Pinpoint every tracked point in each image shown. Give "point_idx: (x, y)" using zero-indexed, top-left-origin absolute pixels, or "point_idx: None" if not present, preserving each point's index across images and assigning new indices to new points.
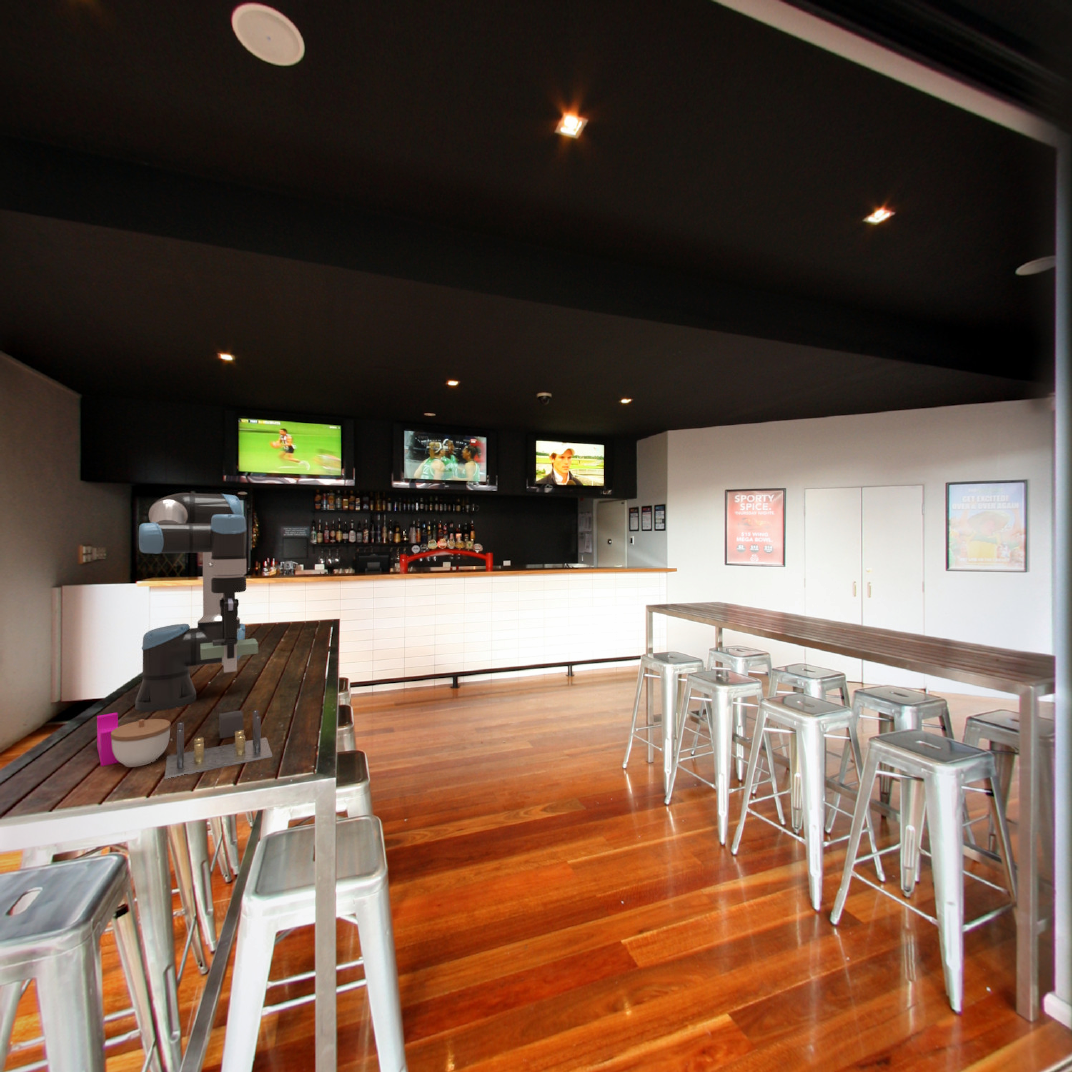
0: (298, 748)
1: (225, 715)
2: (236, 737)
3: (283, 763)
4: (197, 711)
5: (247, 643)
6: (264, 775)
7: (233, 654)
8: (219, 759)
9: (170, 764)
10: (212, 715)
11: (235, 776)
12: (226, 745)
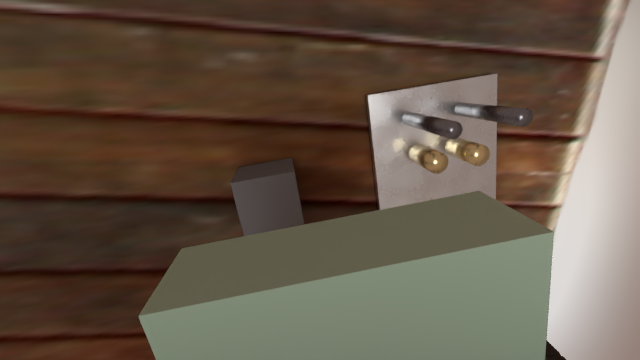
0: (456, 7)
1: (270, 221)
2: (482, 164)
3: (530, 46)
4: (25, 304)
5: (493, 335)
6: (569, 85)
7: (555, 354)
8: (463, 186)
9: None
10: (78, 260)
11: (539, 143)
12: (381, 185)
